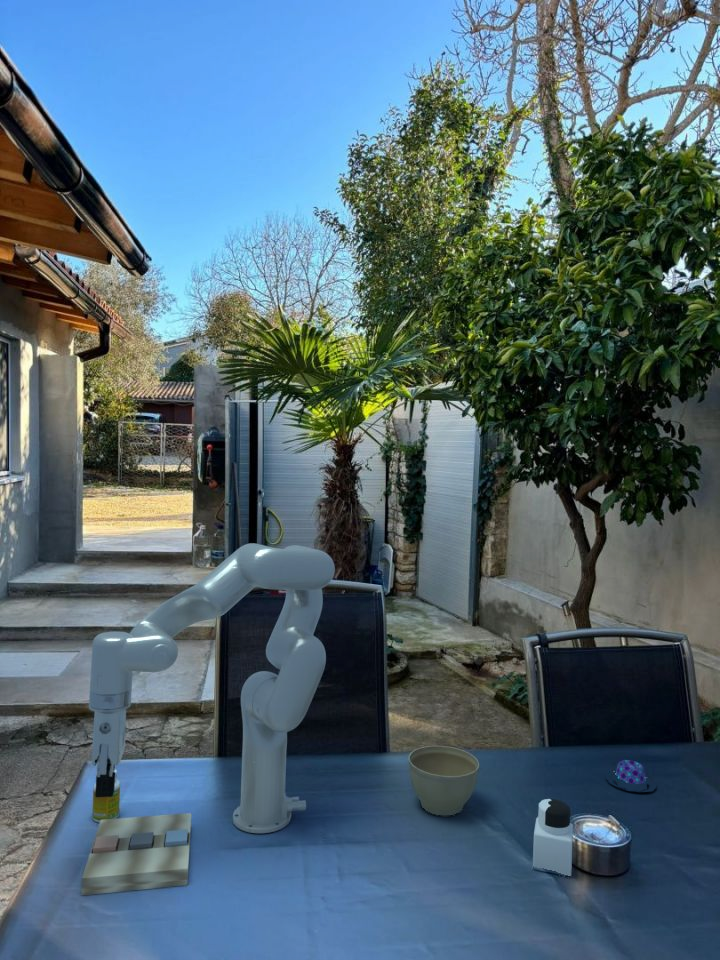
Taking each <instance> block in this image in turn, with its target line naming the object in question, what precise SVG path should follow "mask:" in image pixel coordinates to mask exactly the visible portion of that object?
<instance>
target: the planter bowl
mask: <svg viewBox="0 0 720 960" xmlns="http://www.w3.org/2000/svg"><path fill="white" fill-rule="evenodd" d="M408 755H409V756H408V765H409V766H408V767H409V777H410V778H409V779H410V782H411V786H412V787H413V791H414V792H415V794H416V796H417V797H418V800H419V801H420V805H421V807H422V808H424V809H425V810H424V809H423V810H424V811H426V812H427V811H428V812H427V813H429V812H430V813H429V814H431V813H433V814H432V815H434V814H436V815H435V816H438V815H451V814H455V813H458V812H460V811H461V810H462V811H463V809H464V806H465V804H466V803H467V802H468V801H469V800H470V798H471V796H472V795H473V792H474V790H475V787H476V784H477V781H478V772H479V769H480V762H479V760H478V759H477V757H475V756H474V755H473V754H472V753H470V752H468V751H466V750H463V749H461V748H457V747H452V746H445V745H427V746H422V747H419V748H415V749H414V750H412V751H411V752H410V753H409V754H408ZM462 808H463V809H462ZM462 811H461V812H462ZM461 812H460V813H461Z"/></svg>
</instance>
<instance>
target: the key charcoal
mask: <svg viewBox="0 0 720 960" xmlns="http://www.w3.org/2000/svg"><path fill="white" fill-rule="evenodd" d="M153 835H154V832H149V833H137V834H132V837H131V842H130V850H138V849H150V848H152V845H153Z"/></svg>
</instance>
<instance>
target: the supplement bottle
mask: <svg viewBox="0 0 720 960" xmlns="http://www.w3.org/2000/svg"><path fill="white" fill-rule="evenodd" d="M113 772H115V788H114V793H113V796H112V797H96V796H95V791H96V782H95V783H94V784H93V788H92V789H93V790H92V813H91V815H92V816H91V817H92V821H94V822H96V823H99V824H100V821H101V820H105V819H118V817H119V815H120V802H121V801H120V799H121V797H120V796H121V783H120V780H119V779H118V778H117V777H118V770H117V769H116V768H115V770H114V771H113Z"/></svg>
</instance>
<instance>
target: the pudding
mask: <svg viewBox="0 0 720 960" xmlns="http://www.w3.org/2000/svg"><path fill="white" fill-rule="evenodd" d="M615 771H616V773H615V775H616V776H618V777H617V778H618V779H620V780H623V781H625V782H626V783H630V784H632V783H635V784H641V783H645V782H646V778H647V777H646V773H645V768H644V766H643V764H641V763H639V762H638V761H634V760H629V759H623V760H621V761H619V762H618V764H617V766H616V770H615Z"/></svg>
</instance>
